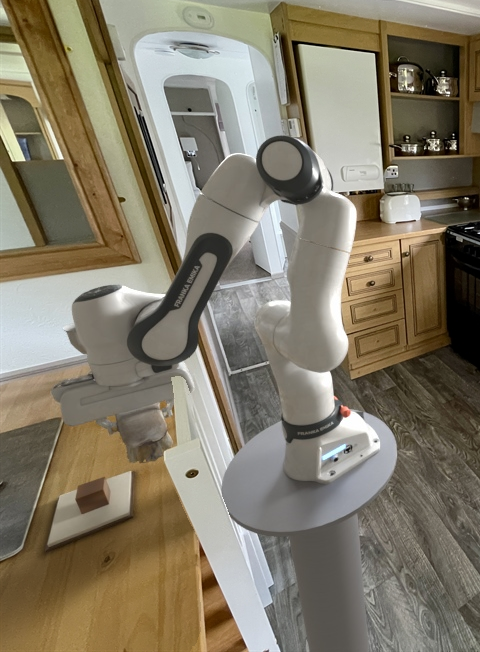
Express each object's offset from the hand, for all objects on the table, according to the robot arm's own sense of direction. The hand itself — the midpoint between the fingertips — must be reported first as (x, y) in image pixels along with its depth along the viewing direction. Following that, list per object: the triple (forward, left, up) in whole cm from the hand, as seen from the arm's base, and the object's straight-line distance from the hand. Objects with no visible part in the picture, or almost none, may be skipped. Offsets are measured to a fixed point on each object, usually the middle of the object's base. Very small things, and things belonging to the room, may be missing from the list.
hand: (142, 423), depth 79 cm
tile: (+10, +2, -15) cm, 18 cm away
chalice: (+14, -60, -15) cm, 63 cm away
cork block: (+10, +2, -13) cm, 17 cm away
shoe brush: (0, 0, -2) cm, 2 cm away
